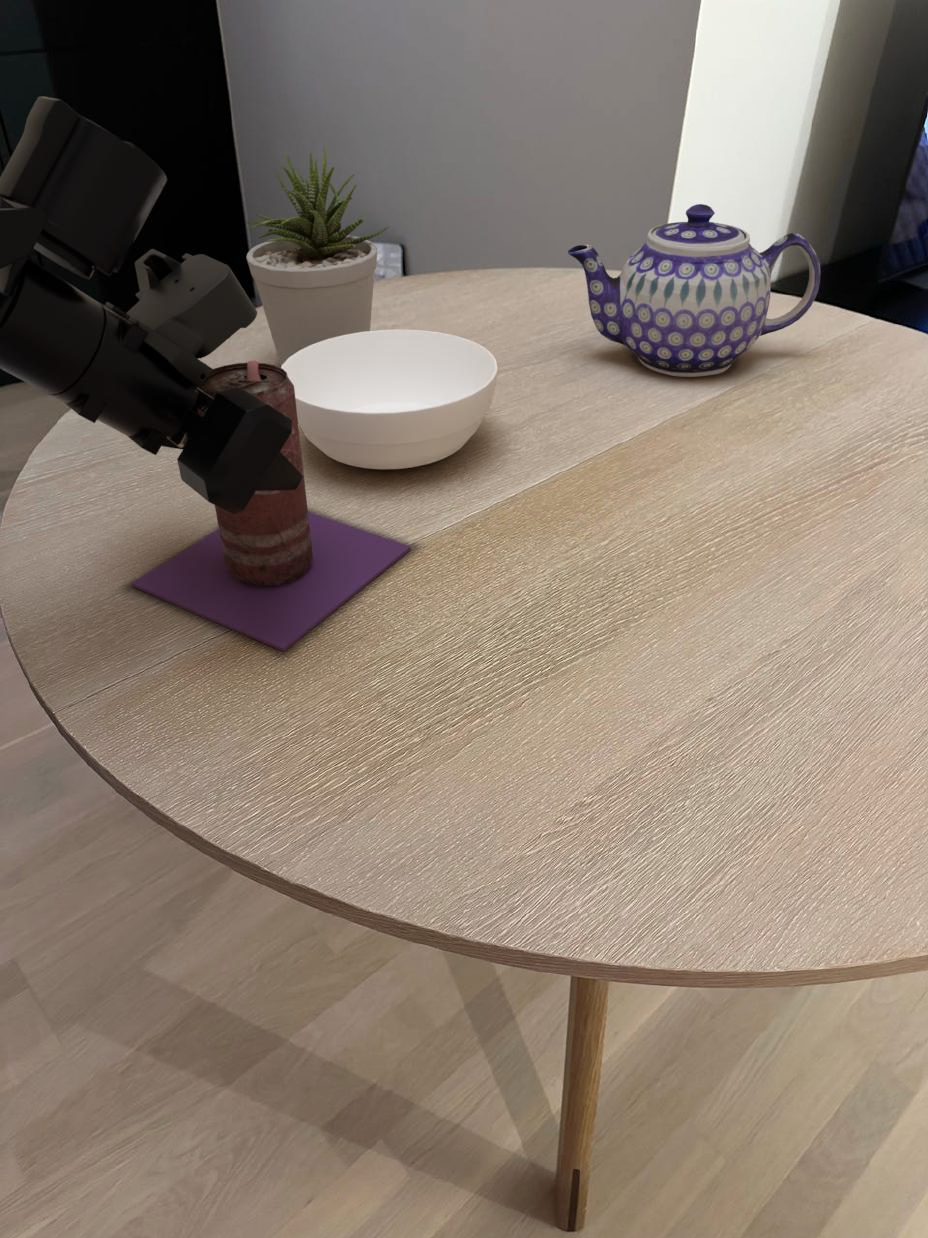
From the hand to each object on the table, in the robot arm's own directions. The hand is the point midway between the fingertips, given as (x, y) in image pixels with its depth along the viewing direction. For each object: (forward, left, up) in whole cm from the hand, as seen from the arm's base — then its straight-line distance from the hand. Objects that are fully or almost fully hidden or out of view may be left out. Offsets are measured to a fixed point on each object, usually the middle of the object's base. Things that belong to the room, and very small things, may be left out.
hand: (276, 467), depth 63 cm
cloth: (0, -1, -8) cm, 8 cm away
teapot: (+10, +51, -8) cm, 52 cm away
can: (-1, -2, -7) cm, 8 cm away
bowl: (-4, +19, -8) cm, 21 cm away
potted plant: (-21, +31, -8) cm, 38 cm away
